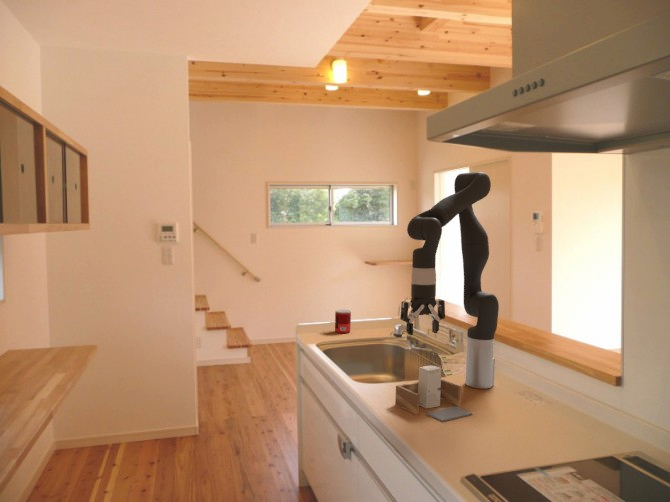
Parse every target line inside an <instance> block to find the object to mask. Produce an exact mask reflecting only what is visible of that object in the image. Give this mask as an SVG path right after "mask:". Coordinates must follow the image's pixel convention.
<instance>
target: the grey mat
mask: <svg viewBox="0 0 670 502" xmlns="http://www.w3.org/2000/svg"><path fill="white" fill-rule="evenodd" d="M425 415H427V416H428V417H431V418H433V419H435V420H437V421H438V422H439V421H440V422H441V423H443V422H448V421H451V420H452V421H453V420H456V419H460V418H464V417H469V416H472V415H473V413H472V412H470V411H468V410H465V409H464V408H462V407H459V406H457V405H453V406H449V407H445V408H440V409H436V410H435V409H434V410H432V411H427V412H425Z"/></svg>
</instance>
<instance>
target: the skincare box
mask: <svg viewBox="0 0 670 502" xmlns="http://www.w3.org/2000/svg"><path fill="white" fill-rule="evenodd" d="M441 379H442V367H439V366H436V365H434V364H433V365H424V366H420V367H418V381H417V382H418V394H419V407H421V408H423V409H426V410H427V409H431V408H435V407H436V408H437V407H440V406H441V398H440V393H441Z"/></svg>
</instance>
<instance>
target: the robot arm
mask: <svg viewBox="0 0 670 502" xmlns="http://www.w3.org/2000/svg"><path fill="white" fill-rule="evenodd" d="M491 183H492V182H491V179H490V176H489V175H488V174H487V173H486V172H483V171H476V172H473V171H472V172H464V173H459V174H458V175H456V177H455V179H454V186H453V187H454V193H453V194H450V195H449V196H446V197H444V198H442V199H441V200H440V201H438V202H437V203H436V204H435V205H433V206H432V207H431V208H430V209H427V210H425V211H423V212H421V213H418V214H417V215H415V216H413V218H411V220H410V221H409V222H408V224H407V228H406V230H407V234H408V237H410V239H412V240H415V241H424V243H423V246H422V247H418V248H415V249H413V251H412V262H411V263H412V266H411V277H410V278H411V282H410V283H411V287H410V290H411V291H410V301H404V300H402V301H401V307H400V320H401V321H403V322H405V323H406V333H407V334H408V335H409V336H413V335H414V323H413V322H414V321H415V319H416V318H418V316H424V315H426V316H427V315H429V316H430V317H431V318H432V322H431V323H432V324H431V325H432V326H431V328H432V329H431V331H432V333H434V334H438V332H439V331H440V321H441V320H444V319H445V318H446V308H445V307H446V306H445V305H446V304H445V300H444V299H440V298H438V299H436V292H437V289H436V288H437V271H436V259H437V258H436V255H437V252H438V248H439V244H440V240H441V237H442V235H443V234H442V232H443V228H444V227H445V226H447V224H449V223H450V222H451V221H452V220H453V219H454V218H455V217H456V216H458V221H459V228H460V229H459V230H460V243H461V247H460V248H461V256H462V265H463V266H462V267H463V268H462V269H463V308H464V310H465V312H466V314H467V315H468V316H470V317H473V318H476V319H477V320H476V324H475V326H471V327H468V328H467V330H466V331H467V334H466V335H467V336H466V354H465V355H466V359H465V377H464V378H465V382H464V383H465V385H466V386H468V387H470V388H474V389H481V390H482V389H490V388H492V387H493V386H494V385H495V368H496V367H495V366H496V359H495V358H494V351H495V350H494V348H495V347H494V345H495V343H494V342H495V334H496V331H497V327H498V322H499V321H498V320H499V311H500V309H499V308H500V307H499V304H500V303H499V299H498V297H497V296H496V295H495V294H492V293H489V292H484V291H482V282H481V281H482V280H481V279H482V273H483V272H484V269H485V267H486V265H487V262H488V260H489V256H490V245H489V236H488V233H487V232H486V229H485V228H484V227H483V225H482V224H481V222H480V221H479V219H478V218H477V216H476V215H475V212H474V208H473V204H474V205H475V203H477V202H479V201H481V200H483V199H484V198H486V197H487V196H488V195H489V194H490V191H491V187H492V184H491ZM410 307H411V309H410ZM435 307H437V311H436V309H435ZM409 309H410V311H409Z"/></svg>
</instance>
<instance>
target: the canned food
mask: <svg viewBox="0 0 670 502" xmlns="http://www.w3.org/2000/svg"><path fill="white" fill-rule="evenodd" d="M351 311H352V310H350V309H336V310H335V312H334V313H335V314H334V316H335V317H334V318H335V319H334V331H335V333H337V334H340V335H341V334H342V335H345V334H350V333H351V323H352V321H351V319H352V312H351Z"/></svg>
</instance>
